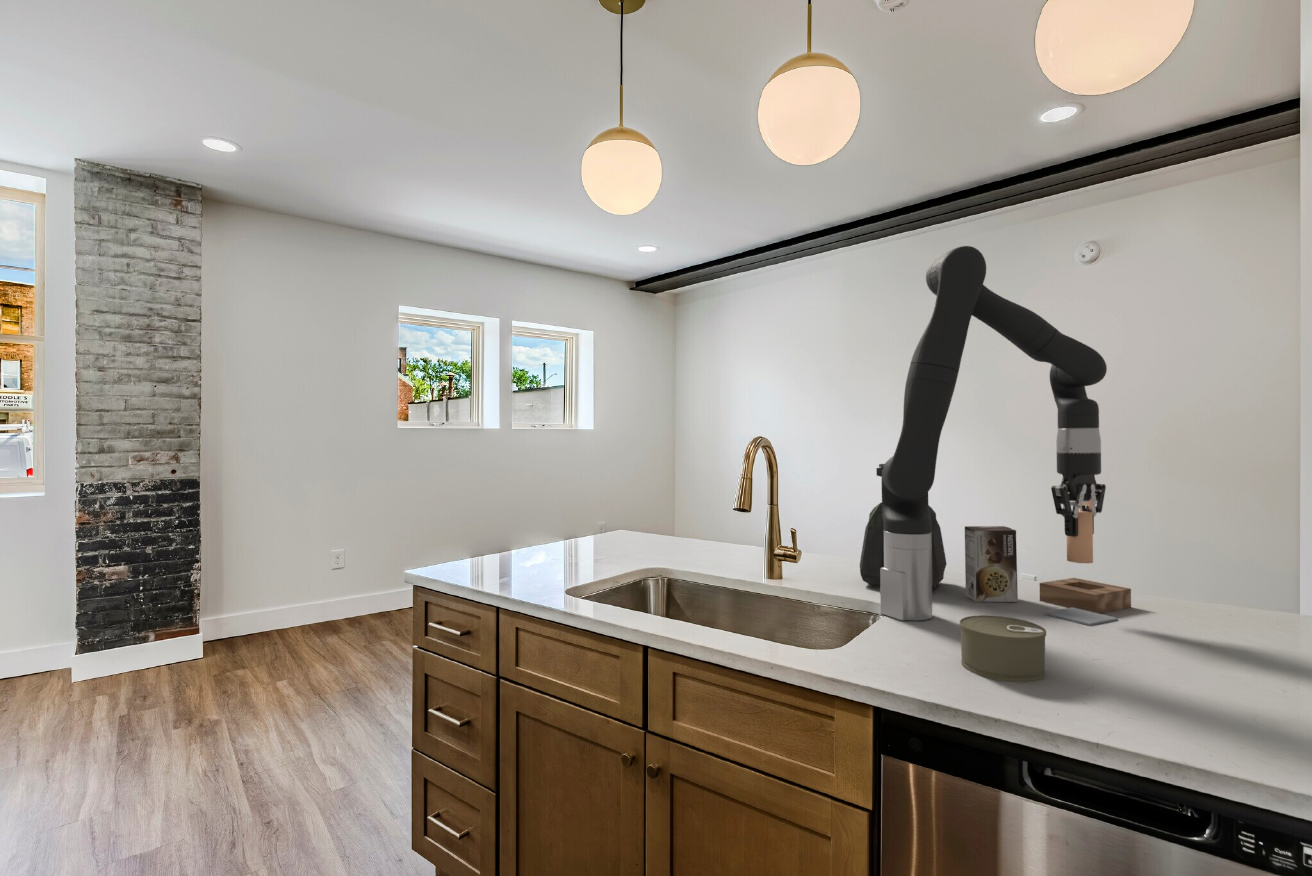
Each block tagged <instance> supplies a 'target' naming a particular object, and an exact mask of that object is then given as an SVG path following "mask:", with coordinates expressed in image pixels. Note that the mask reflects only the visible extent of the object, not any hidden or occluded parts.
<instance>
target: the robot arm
mask: <svg viewBox="0 0 1312 876" xmlns="http://www.w3.org/2000/svg"><path fill="white" fill-rule="evenodd" d="M986 275H987V263H986V258H985V257H984V255H983V253H982V252H981V251H980V250H979V249H977V248H976V247H974V246H970V245H963V246H962V245H961V246H958V247H955V248H952V249H951V250H948V251H947V252H945V253H943V255H941V256H939V257H938V258H936V259H935V260H934V261H933V262H931V263H930V264H929V265H928V268H927V270H926V273H925V282H926V285H927V287H928V289H929V290H930V292H931V293H932V294H933V295H935V296H936V298H935V303H934V308H933V311H932V315H931V317H930V319H929V322H928V323H927V326H926V328H925V330H924V332H923V333H922V334H921V335H922V336H921V337H920V339H919V341H918V343H917V345H916V347H915V349H914V351H913V355H912V357H911V361H910V364H909V368H908V372H907V376H906V381H905V386H904V396H903V419H902V427H901V431H900V436H899V438H898V442H897V445H896V448H895V451H894V454H893V456H891V457H890V458H889V459H887V461H886V462H884V464H885V465H884V467H883V470H882V477H881V502H882V515H883V522H884V567H882V568H881V569H880V587H879V588H880V589H879V590H880V593H879V594H880V614H882V615H886V616H888V617H890V618H894V619H895V620H896V619H897V620H900V621H926V620H930V619H932V618H933V589H932V521H931V517H930V513H929V506H930V505H929V492H930V491H931V489H932V487H933V484H934V482H935V475H936V469H937V466H936V465H937V458H938V452H939V444H940V438H941V435H942V431H943V427H944V425H945V423H946V422H945V421H946V419H947V415H948V414H949V413H948V412H949V410H950V405H951V402H952V399H953V395H954V392H955V388H956V384H957V380H958V376H959V372H960V367H961V362H962V358H963V353H964V350H965V345H966V340H967V336H968V331H969V326H970V322H971V319H972V317H974V318H976V319H977V320H978V321H980V322H981V323H983V324H985V325H986V326H988V327H990V328H991V329H993V330H994V332H995V331H996V332H997V333H998V334H999V335H1001V336H1002V337H1003V338H1005V339H1006V340H1007V341H1009V342H1010V343H1011V344H1013V345H1014V346H1015V347H1017V348H1018V349H1019V350H1021V352H1022V353H1024V354H1025V355H1027V356H1028V357H1029V358H1031V359H1032V360H1034V361H1036V362H1042V363H1048V364H1050V365H1051V366H1050V370H1049V383H1050V387H1051V391H1052V395H1053V398H1054V402H1055V405H1056V408H1057V433H1056V472H1057V474H1059V475H1062V479H1061V483H1060V485H1052V486H1051V487H1050V489H1051V494H1052V498H1053V504H1054V507H1055V513H1056V514H1057V515H1061V516H1062V517H1063V519H1064V534H1065V536H1066V537H1067V536H1072V537H1076V536H1078V518H1077V517H1078V511H1088V512H1093V535H1094V534H1095V526H1094V525H1095V520H1094V519H1095V517H1096V516H1097V513H1100V514H1101V513H1102V512H1103V506H1104V500H1105V496H1106V495H1105V494H1106V487H1107V486H1106V484H1103V483H1097V480H1096V476H1098V475H1101V473H1102V440H1101V433H1100V432H1101V431H1100V408H1099V404H1098V402H1097V401H1096V400H1094V399H1091V398H1088V395H1087V391H1086V387H1089V386H1093V385H1096V384H1098V383H1100V382H1101V381H1103V379H1104V378H1105V376H1106V375H1107V369H1108V368H1107V362H1106V360H1105V359H1104V357H1103V356H1102V355H1101V354H1100V352H1098V351H1097V350H1095V349H1094V348H1093V347H1091V346H1089V345H1087V344H1085V343H1083V342H1081V341H1079V340H1077V339H1075V338H1073V337H1071V336H1069V335H1066V334H1064V333H1062V332H1060V330H1058V329H1057V328H1056V327H1055V326H1053V325H1052V324H1051V323H1049V322H1048V321H1047V320H1046V319H1044V318H1043V317H1042V316H1040V315H1039V314H1037V313H1036V312H1034V311H1032V310H1031V309H1030V308H1027V307H1025V306H1022V305H1020V304H1018V303H1015V302H1013V301H1012V300H1009V299H1006V298H1005V297H1003V296H1000V295H998V294H997V293H995V292H993V290H991V289H989V288H988V287H987V286H986V285H984V283H985V279H986V277H987V276H986ZM1062 505H1063V507H1062Z"/></svg>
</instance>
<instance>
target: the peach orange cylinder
mask: <svg viewBox="0 0 1312 876" xmlns="http://www.w3.org/2000/svg"><path fill="white" fill-rule="evenodd" d="M1077 518H1078V536H1076V537H1072V536H1066V561H1067V562H1071V563H1077V564H1093V563H1094V534H1093V512H1088V511H1080V510H1079V511H1078V517H1077Z"/></svg>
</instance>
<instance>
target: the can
mask: <svg viewBox="0 0 1312 876" xmlns="http://www.w3.org/2000/svg"><path fill="white" fill-rule="evenodd" d="M959 626H960V645H961V650H960V651H961V661H960V662H961V666H962V667H963V668H964V669H965V670H967V671H969V672H970V673H973V674H975V675H978V676H979V677H983V678H986V679H990V680H996V681H1000V682H1001V681H1002V682H1009V683H1033V682H1038V681H1041V680H1043V679H1045V677H1046V671H1045V669H1046V667H1045V666H1046V636H1047V630H1046V628H1044V627H1043V626H1041V625H1039V624H1037V623H1034V622H1031V621H1028V620H1024V619H1020V618H1014V617H1010V616H1002V615H1000V616H999V615H987V614H986V615H981V614H980V615H969V616H966V617H963V618H961V619H960V620H959Z"/></svg>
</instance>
